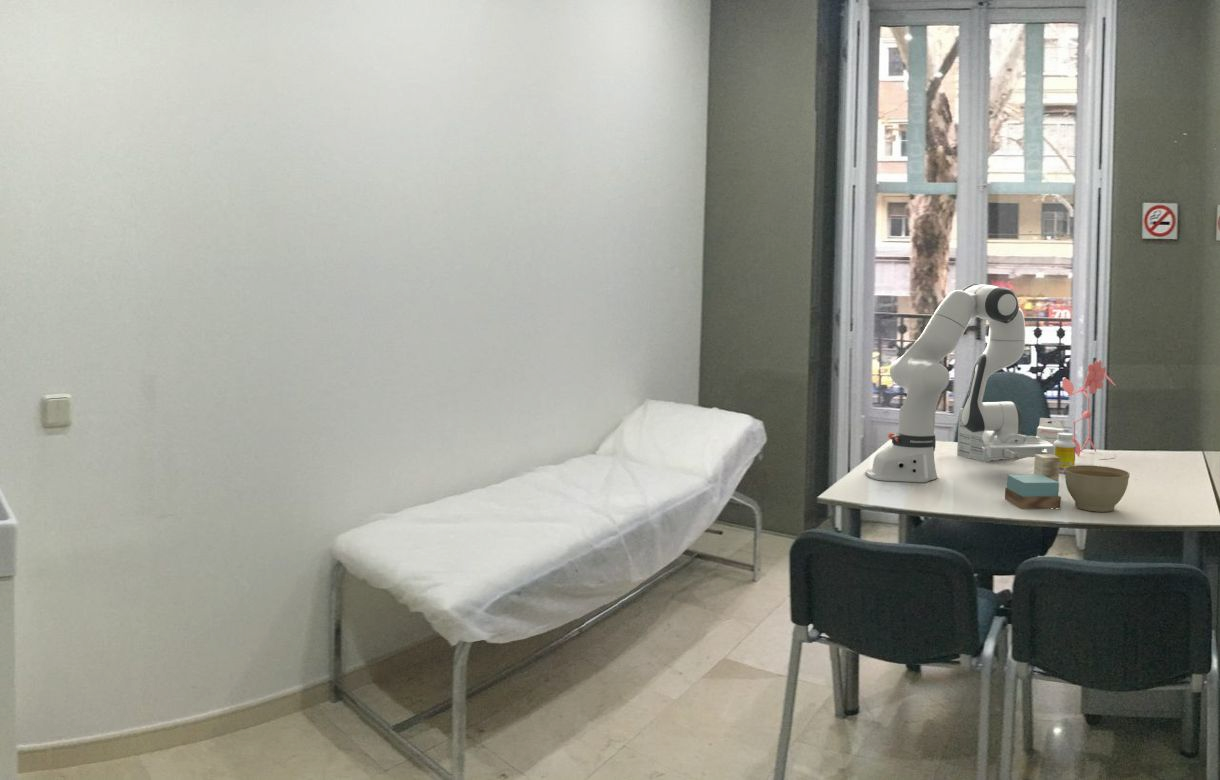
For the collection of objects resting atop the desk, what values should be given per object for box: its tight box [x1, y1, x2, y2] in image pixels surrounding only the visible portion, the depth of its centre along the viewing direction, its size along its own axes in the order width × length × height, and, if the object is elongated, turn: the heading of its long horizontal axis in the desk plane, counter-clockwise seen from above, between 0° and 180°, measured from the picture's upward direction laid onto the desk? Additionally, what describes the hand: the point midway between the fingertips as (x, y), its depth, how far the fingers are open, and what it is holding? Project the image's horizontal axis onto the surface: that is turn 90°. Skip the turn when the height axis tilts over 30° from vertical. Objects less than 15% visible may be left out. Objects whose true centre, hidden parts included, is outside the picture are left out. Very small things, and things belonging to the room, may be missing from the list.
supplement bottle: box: [1054, 432, 1076, 474], centre depth 298 cm, size 7×7×13 cm
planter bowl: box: [1064, 464, 1130, 513], centre depth 251 cm, size 16×16×11 cm
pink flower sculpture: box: [1061, 359, 1117, 461], centre depth 322 cm, size 15×26×35 cm, turn 121°
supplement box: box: [956, 407, 1006, 462], centre depth 322 cm, size 13×13×18 cm
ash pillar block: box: [1033, 454, 1060, 482], centre depth 265 cm, size 5×5×12 cm
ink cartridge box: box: [1036, 417, 1065, 445], centre depth 316 cm, size 9×5×15 cm, turn 58°
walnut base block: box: [1004, 487, 1062, 510], centre depth 256 cm, size 11×11×4 cm
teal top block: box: [1006, 474, 1060, 497], centre depth 255 cm, size 10×10×4 cm
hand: (1030, 455), depth 277 cm, fingers open, 8 cm apart
